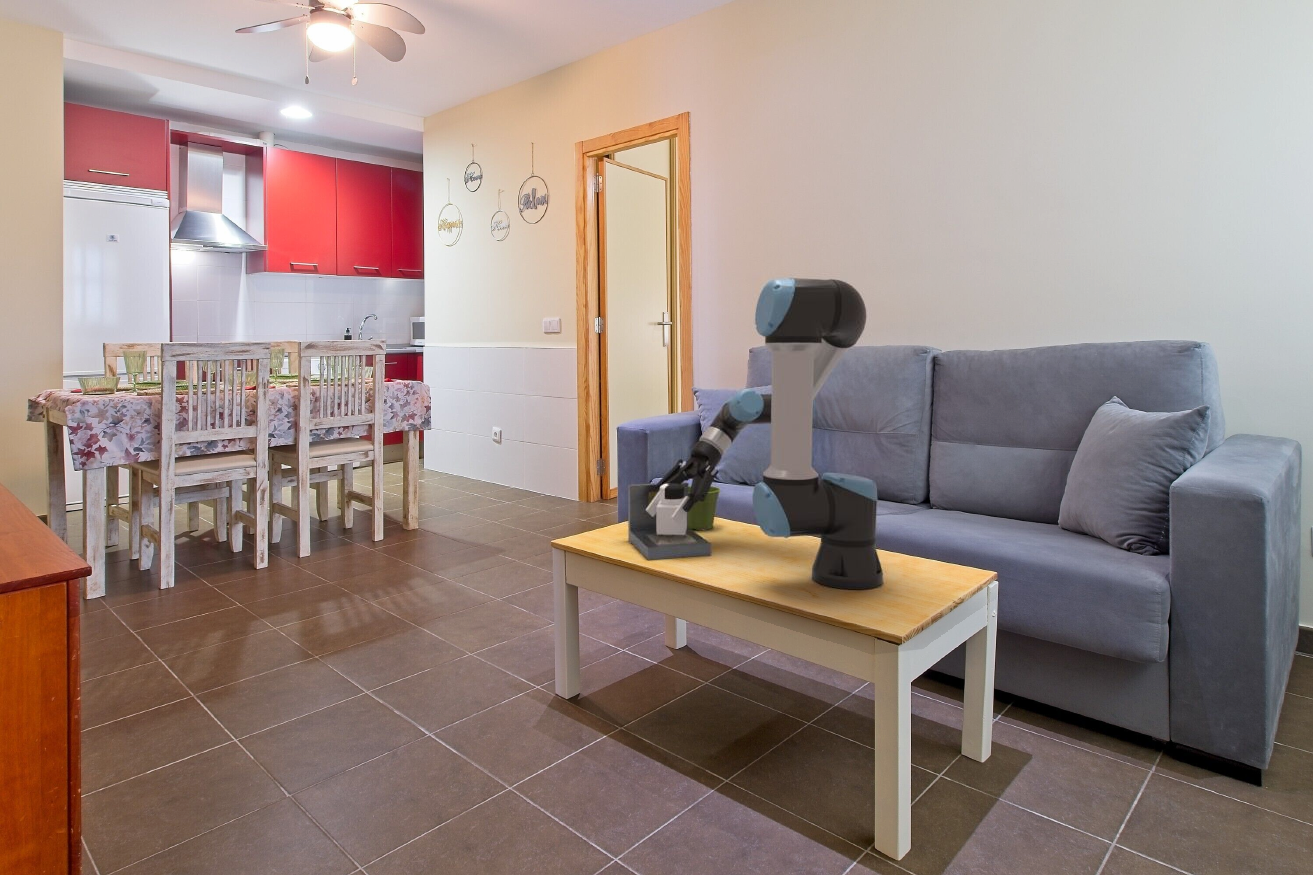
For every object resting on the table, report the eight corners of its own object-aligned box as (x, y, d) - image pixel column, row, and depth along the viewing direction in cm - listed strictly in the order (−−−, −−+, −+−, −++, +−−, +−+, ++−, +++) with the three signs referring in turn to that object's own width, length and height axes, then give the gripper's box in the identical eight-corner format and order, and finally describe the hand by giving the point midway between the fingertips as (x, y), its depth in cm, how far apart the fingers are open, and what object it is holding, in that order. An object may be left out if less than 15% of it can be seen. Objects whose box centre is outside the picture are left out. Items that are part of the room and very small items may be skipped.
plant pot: (701, 521, 227) (701, 483, 225) (729, 528, 217) (729, 489, 216) (670, 526, 219) (670, 488, 218) (697, 534, 210) (697, 494, 209)
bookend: (710, 555, 189) (711, 495, 187) (648, 560, 184) (647, 498, 183) (685, 536, 208) (686, 481, 206) (628, 540, 204) (628, 484, 202)
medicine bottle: (686, 528, 196) (687, 482, 195) (685, 535, 189) (685, 487, 188) (659, 528, 197) (659, 481, 195) (656, 534, 190) (656, 486, 188)
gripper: (748, 463, 191) (699, 534, 183) (690, 453, 209) (644, 518, 201) (732, 443, 187) (682, 515, 180) (675, 435, 205) (627, 500, 197)
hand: (662, 516), depth 190 cm, fingers closed on medicine bottle, 10 cm apart
